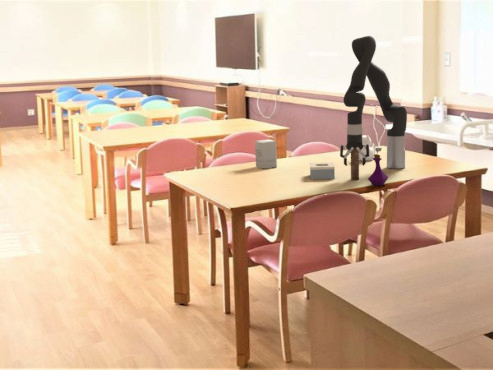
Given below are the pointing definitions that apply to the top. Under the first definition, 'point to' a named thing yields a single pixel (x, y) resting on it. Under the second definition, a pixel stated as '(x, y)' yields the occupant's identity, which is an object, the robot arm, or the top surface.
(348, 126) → the robot arm
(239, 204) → the top surface
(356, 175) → the walnut peg
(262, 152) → the supplement box
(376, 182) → the perfume bottle
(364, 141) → the cat figurine
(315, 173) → the grey box cream lid
